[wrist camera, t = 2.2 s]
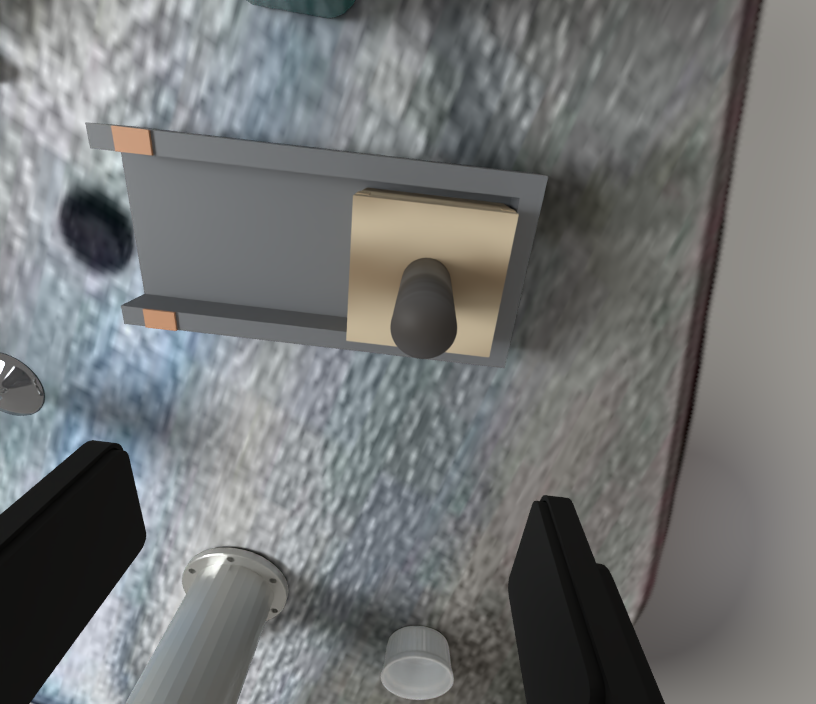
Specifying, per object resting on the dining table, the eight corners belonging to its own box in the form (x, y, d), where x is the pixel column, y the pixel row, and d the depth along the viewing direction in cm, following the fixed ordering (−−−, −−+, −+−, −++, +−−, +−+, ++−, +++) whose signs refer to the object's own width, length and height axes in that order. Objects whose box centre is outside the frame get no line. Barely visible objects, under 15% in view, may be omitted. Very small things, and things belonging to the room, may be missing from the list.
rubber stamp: (480, 326, 35) (506, 424, 22) (359, 312, 35) (318, 402, 23) (503, 202, 31) (552, 238, 18) (366, 186, 31) (321, 211, 18)
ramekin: (412, 611, 53) (410, 648, 49) (466, 641, 55) (469, 679, 51) (370, 644, 56) (366, 681, 52) (423, 671, 58) (422, 708, 54)
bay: (497, 347, 37) (504, 369, 33) (154, 306, 37) (122, 324, 33) (534, 173, 31) (549, 176, 27) (125, 125, 31) (83, 122, 27)
